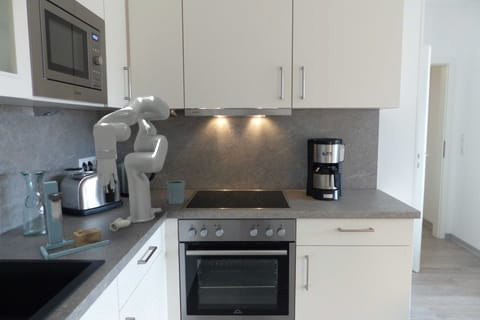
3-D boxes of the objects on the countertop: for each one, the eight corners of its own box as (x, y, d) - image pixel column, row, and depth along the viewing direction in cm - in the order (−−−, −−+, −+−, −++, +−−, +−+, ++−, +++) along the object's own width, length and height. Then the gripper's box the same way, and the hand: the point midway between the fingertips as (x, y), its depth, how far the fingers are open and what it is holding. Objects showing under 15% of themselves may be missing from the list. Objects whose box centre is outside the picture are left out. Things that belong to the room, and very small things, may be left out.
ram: (63, 217, 116) (60, 191, 115) (66, 220, 112) (63, 193, 111) (49, 220, 113) (46, 194, 112) (51, 223, 109) (48, 195, 108)
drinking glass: (167, 201, 184) (165, 181, 183) (184, 199, 187) (183, 179, 186) (168, 205, 174) (167, 184, 173) (187, 203, 177) (186, 182, 176)
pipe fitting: (131, 226, 142) (116, 225, 141) (131, 217, 141) (116, 217, 141) (125, 232, 134) (109, 231, 133) (125, 223, 133) (109, 222, 133)
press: (97, 233, 131) (92, 176, 128) (109, 243, 119) (104, 180, 116) (38, 247, 118) (31, 183, 115) (45, 259, 106) (37, 189, 103)
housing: (96, 239, 124) (95, 224, 123) (101, 243, 120) (100, 227, 119) (74, 245, 119) (72, 229, 118) (78, 249, 114) (77, 233, 114)
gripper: (90, 155, 125) (94, 201, 127) (102, 157, 114) (106, 207, 115) (110, 153, 130) (113, 197, 132) (123, 155, 118) (126, 203, 120)
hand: (110, 202), depth 123 cm, fingers closed
